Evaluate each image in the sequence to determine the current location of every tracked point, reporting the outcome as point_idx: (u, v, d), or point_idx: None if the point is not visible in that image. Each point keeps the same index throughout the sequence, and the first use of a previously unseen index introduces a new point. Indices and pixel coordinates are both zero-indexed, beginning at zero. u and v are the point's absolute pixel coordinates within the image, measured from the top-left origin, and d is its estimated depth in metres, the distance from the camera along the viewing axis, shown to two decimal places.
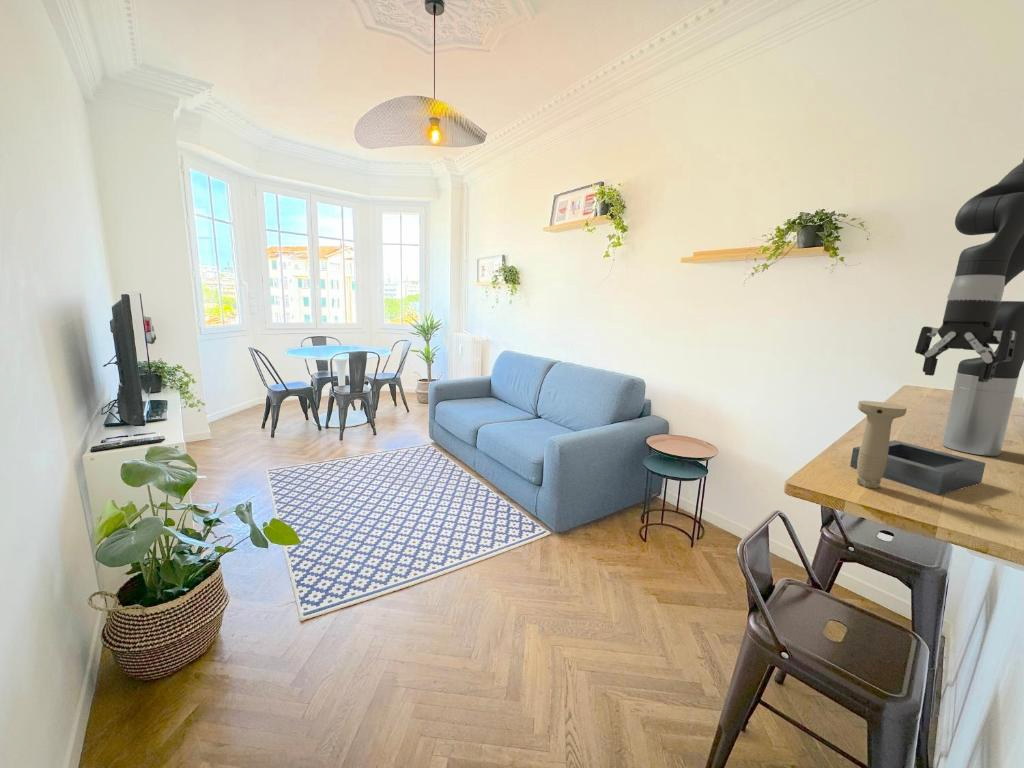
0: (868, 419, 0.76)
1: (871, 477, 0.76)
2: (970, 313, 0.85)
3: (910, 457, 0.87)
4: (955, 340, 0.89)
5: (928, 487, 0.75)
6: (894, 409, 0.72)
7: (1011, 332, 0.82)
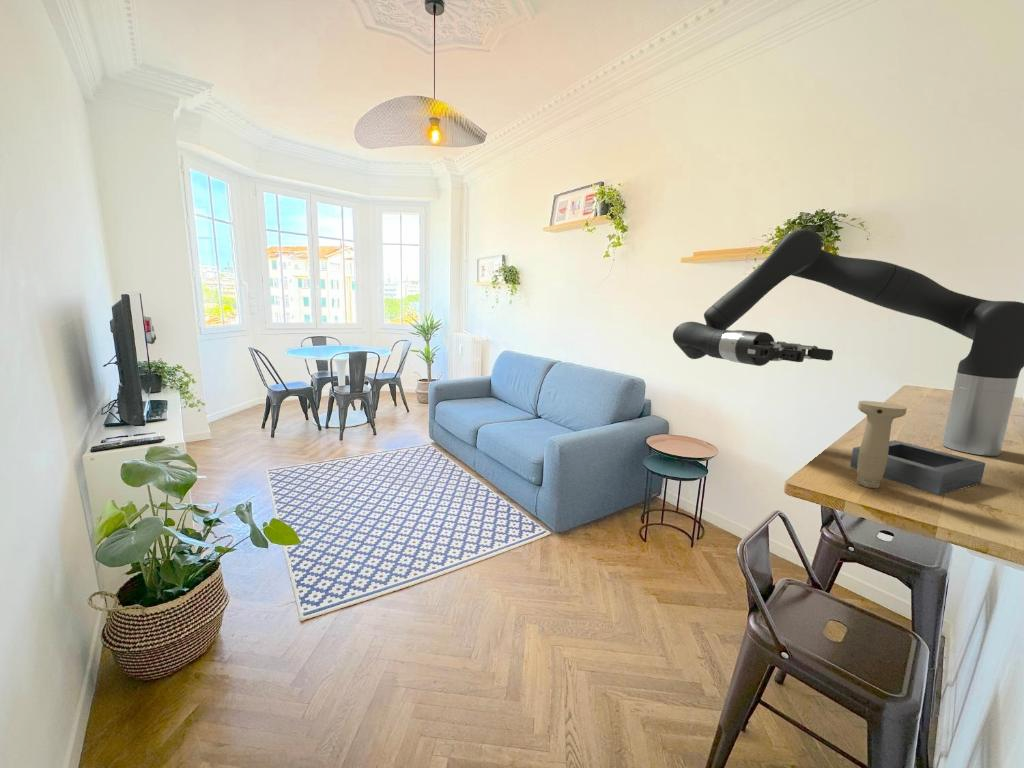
0: (868, 419, 0.76)
1: (871, 477, 0.76)
2: (751, 364, 0.97)
3: (910, 457, 0.87)
4: None
5: (928, 487, 0.75)
6: (894, 409, 0.72)
7: (748, 353, 0.91)
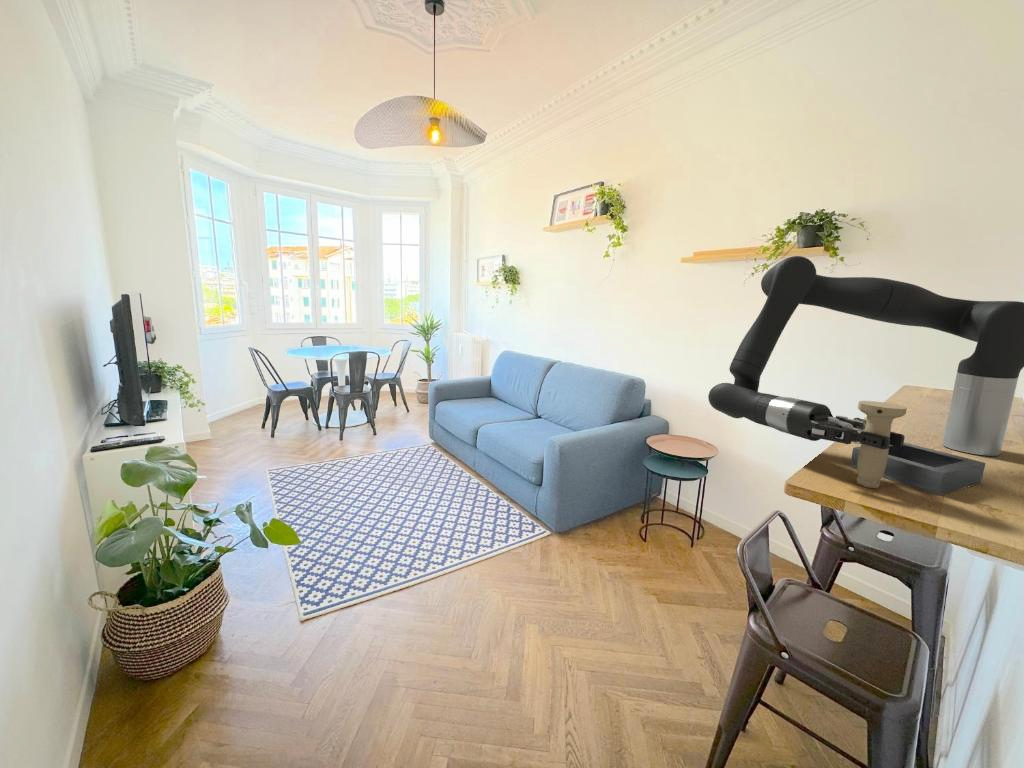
0: (868, 419, 0.76)
1: (871, 477, 0.76)
2: None
3: (910, 457, 0.87)
4: None
5: (928, 487, 0.75)
6: (894, 409, 0.72)
7: (813, 433, 0.80)
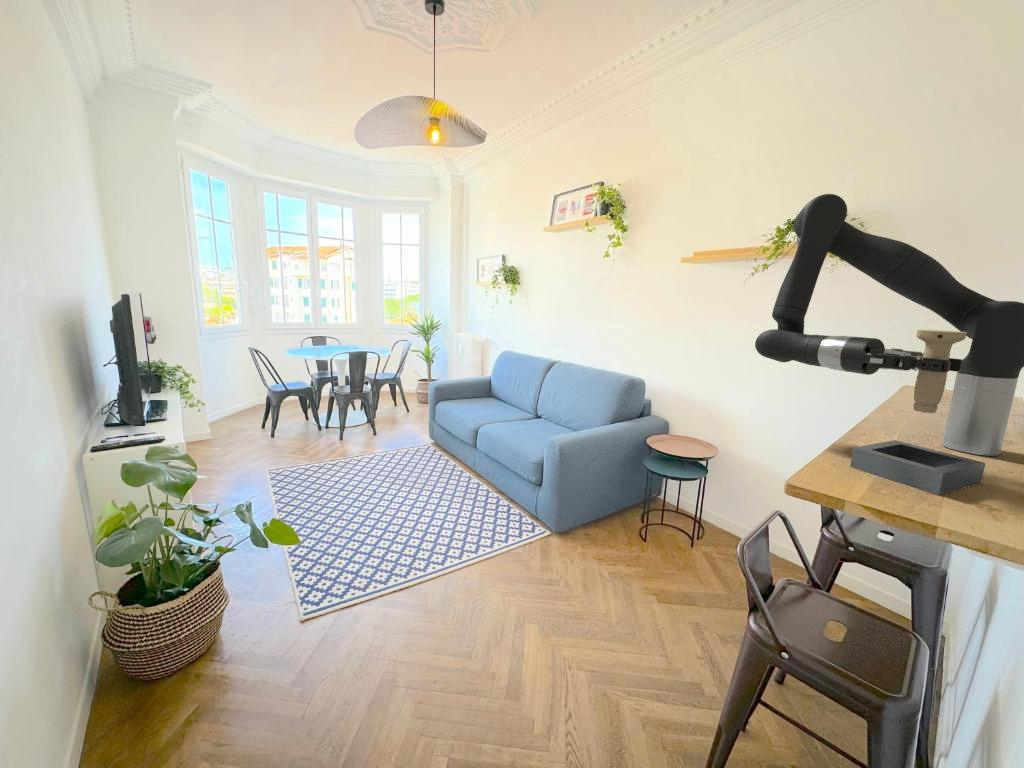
0: (927, 346, 0.79)
1: (929, 402, 0.79)
2: (858, 372, 0.90)
3: (910, 457, 0.87)
4: None
5: (928, 487, 0.75)
6: (955, 333, 0.75)
7: (871, 362, 0.83)
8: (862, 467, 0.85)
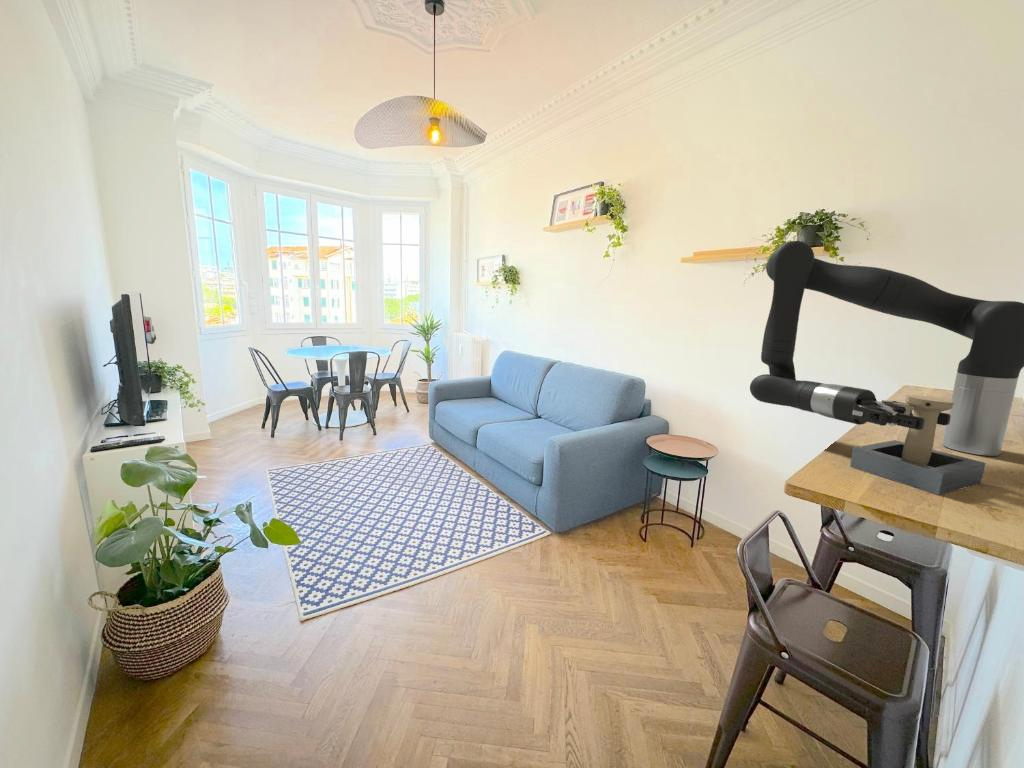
0: (915, 412, 0.81)
1: None
2: (850, 422, 0.92)
3: None
4: None
5: (928, 487, 0.75)
6: (942, 402, 0.78)
7: (853, 414, 0.86)
8: (862, 467, 0.85)
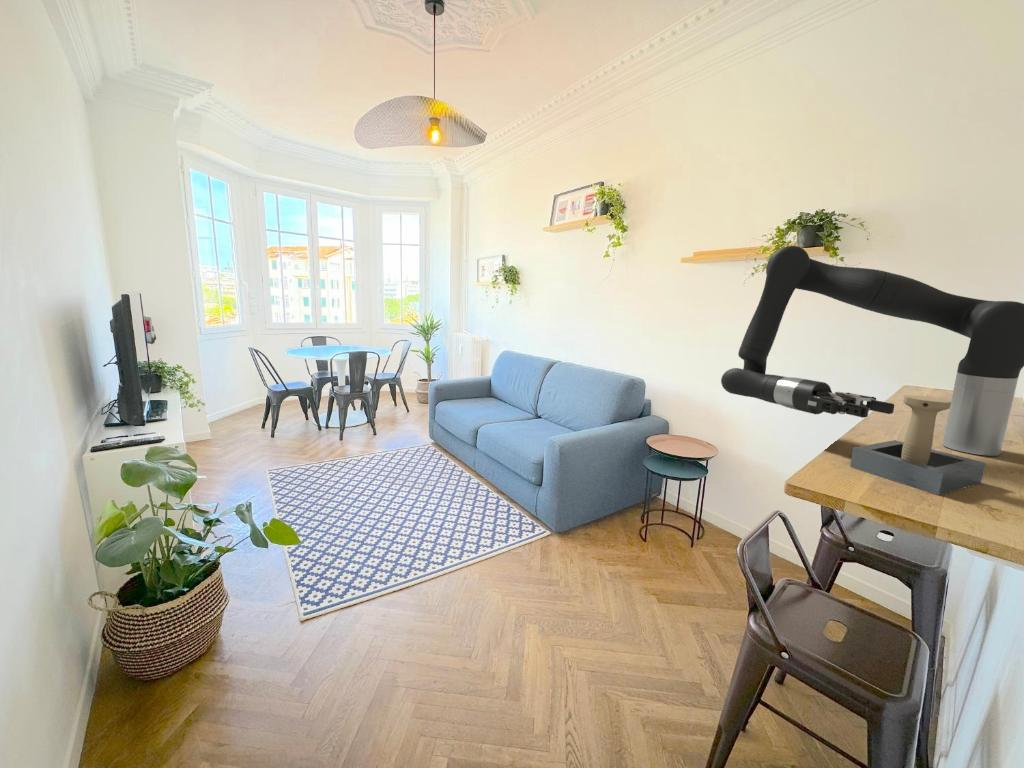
0: (913, 412, 0.81)
1: None
2: (808, 412, 1.00)
3: None
4: None
5: (928, 487, 0.75)
6: (940, 402, 0.78)
7: (808, 404, 0.94)
8: (862, 467, 0.85)
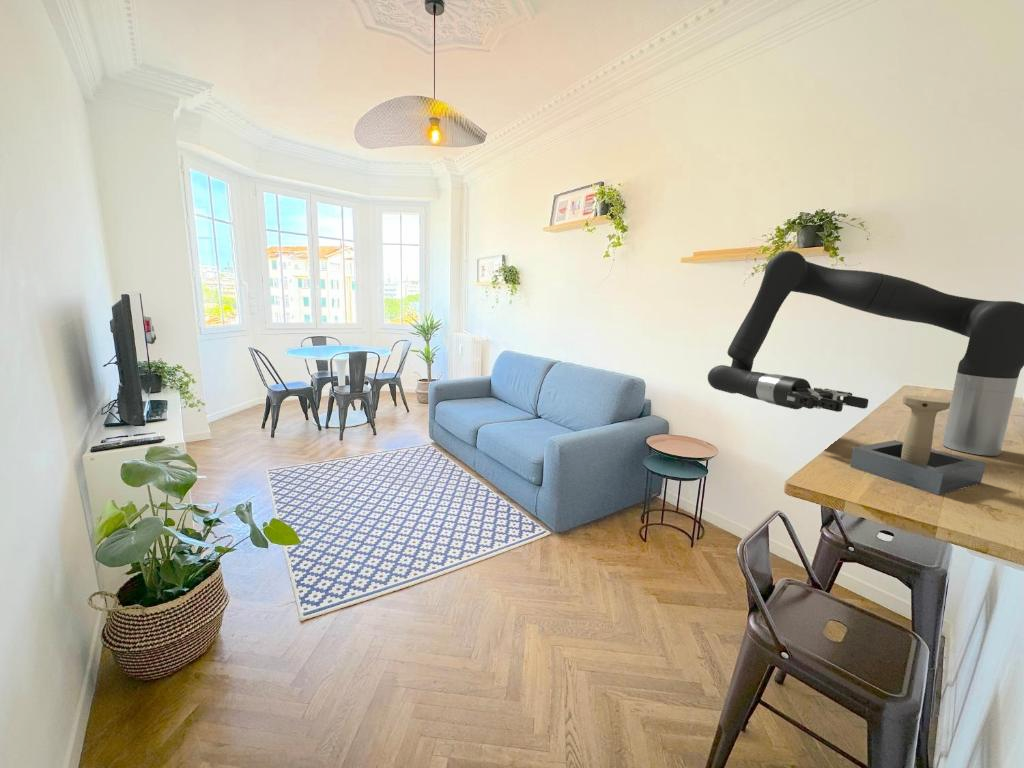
0: (913, 412, 0.81)
1: None
2: (788, 407, 1.04)
3: None
4: None
5: (928, 487, 0.75)
6: (939, 403, 0.78)
7: (787, 399, 0.99)
8: (862, 467, 0.85)
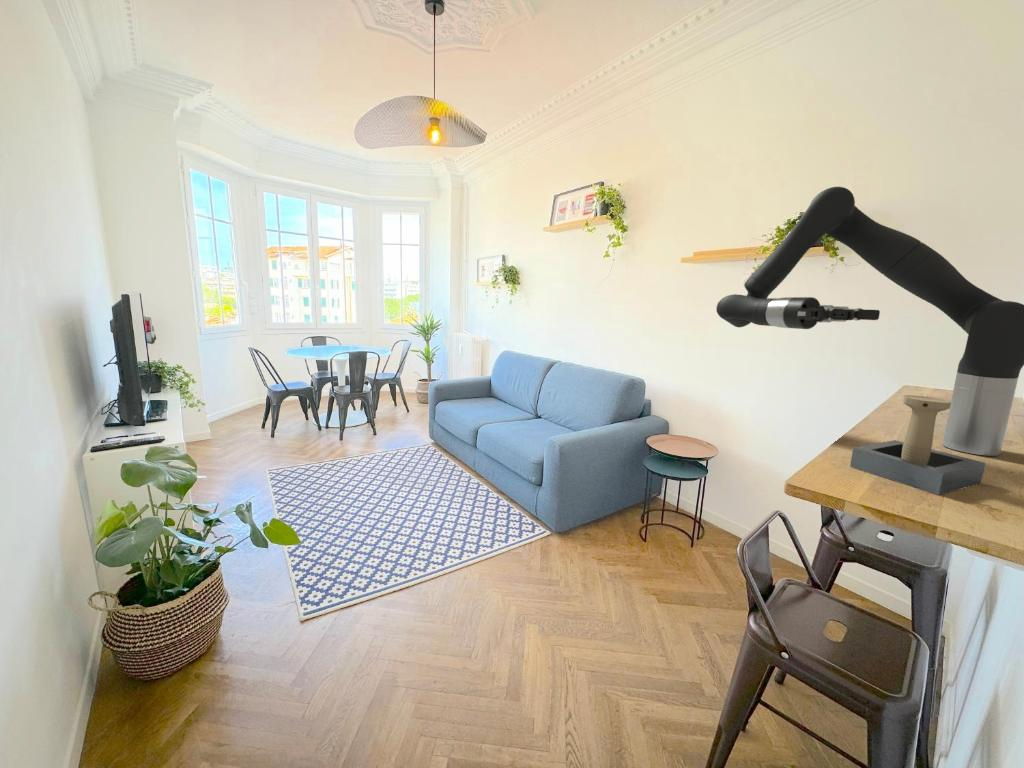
0: (913, 412, 0.81)
1: None
2: (798, 327, 1.04)
3: None
4: None
5: (928, 487, 0.75)
6: (940, 403, 0.78)
7: (798, 315, 0.98)
8: (862, 467, 0.85)
